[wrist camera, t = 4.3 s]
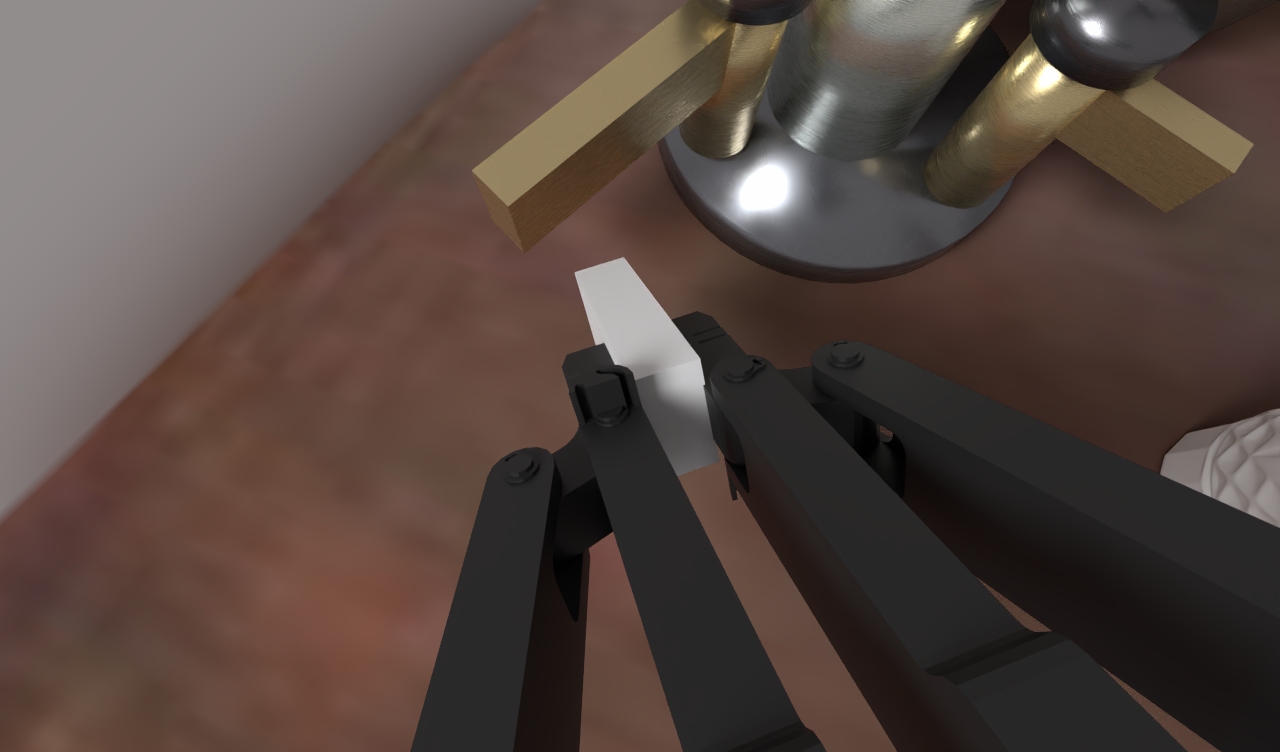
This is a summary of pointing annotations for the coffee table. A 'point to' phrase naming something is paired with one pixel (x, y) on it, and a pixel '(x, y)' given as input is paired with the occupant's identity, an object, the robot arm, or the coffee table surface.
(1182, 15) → the tribrach
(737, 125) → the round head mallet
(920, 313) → the coffee table surface
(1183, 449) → the white cup
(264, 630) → the coffee table surface
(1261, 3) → the plant pot
